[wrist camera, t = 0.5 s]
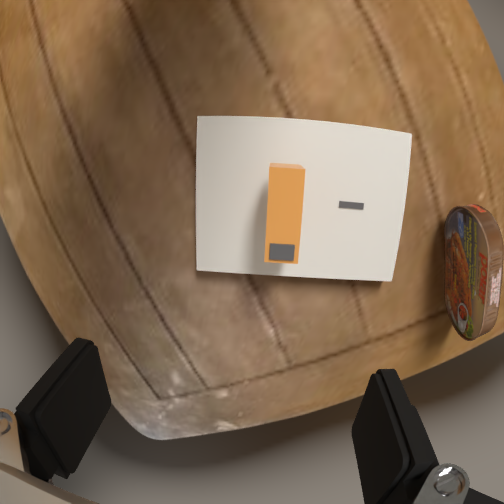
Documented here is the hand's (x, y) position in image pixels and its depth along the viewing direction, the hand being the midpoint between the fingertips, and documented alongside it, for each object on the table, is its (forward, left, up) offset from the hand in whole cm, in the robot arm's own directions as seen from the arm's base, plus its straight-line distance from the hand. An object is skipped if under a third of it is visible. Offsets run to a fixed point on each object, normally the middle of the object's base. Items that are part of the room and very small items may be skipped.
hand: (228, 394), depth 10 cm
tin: (+3, +23, -24) cm, 33 cm away
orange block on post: (-2, +2, -20) cm, 20 cm away
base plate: (-2, +4, -24) cm, 24 cm away
